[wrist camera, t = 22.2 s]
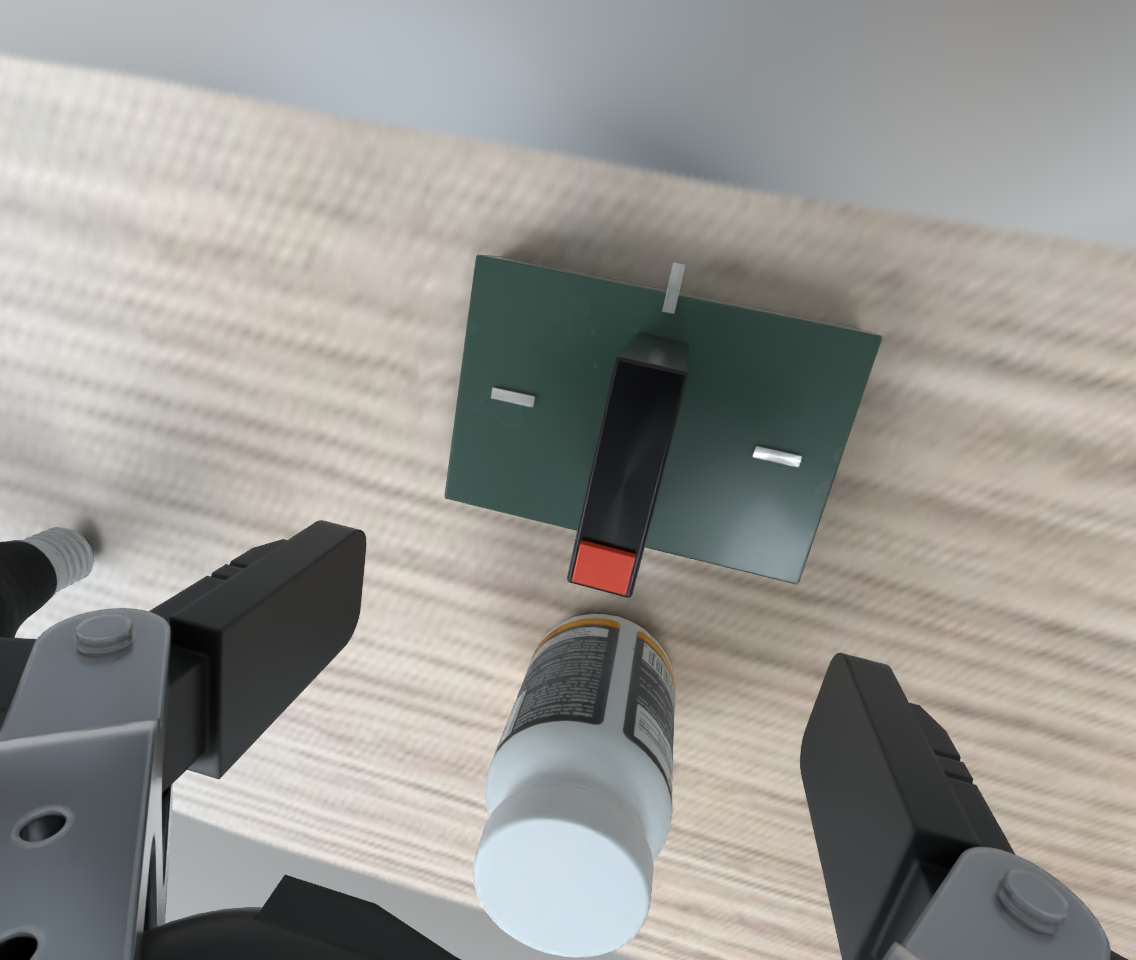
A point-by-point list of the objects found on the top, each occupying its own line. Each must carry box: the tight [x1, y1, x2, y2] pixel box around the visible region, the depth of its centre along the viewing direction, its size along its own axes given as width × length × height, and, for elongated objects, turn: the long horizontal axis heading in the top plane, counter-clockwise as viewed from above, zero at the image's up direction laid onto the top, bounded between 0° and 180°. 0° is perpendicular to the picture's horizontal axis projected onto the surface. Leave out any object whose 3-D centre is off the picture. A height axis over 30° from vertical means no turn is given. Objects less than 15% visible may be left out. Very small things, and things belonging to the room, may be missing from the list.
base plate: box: [445, 255, 882, 584], centre depth 21 cm, size 12×10×3 cm
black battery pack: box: [567, 332, 689, 598], centre depth 17 cm, size 6×2×6 cm, turn 169°
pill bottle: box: [473, 614, 675, 957], centre depth 21 cm, size 6×6×10 cm
